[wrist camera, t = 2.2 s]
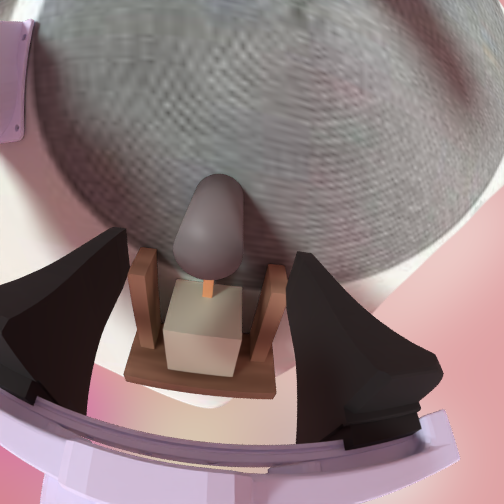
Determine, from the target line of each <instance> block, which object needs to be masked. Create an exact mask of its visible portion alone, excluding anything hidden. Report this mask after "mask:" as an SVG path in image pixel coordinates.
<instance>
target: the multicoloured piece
mask: <svg viewBox="0 0 504 504" xmlns="http://www.w3.org/2000/svg"><path fill="white" fill-rule="evenodd" d="M243 208H244V195H243V190H242V188H241V186H240V184H239V183H238V182H237V181H236V180H235V179H234V178H232V177H230V176H228V175H224V174H213V175H210V176H208V177H206V178H204V179H203V180H202V181H201V182H200V183H199V184H198V186H197V188H196V190H195V193H194V195H193V197H192V199H191V202H190V204H189V206H188V209H187V211H186V214H185V216H184V218H183V221H182V223H181V226H180V228H179V231H178V233H177V236H176V238H175V241H174V244H173V253H174V257H175V259H176V261H177V263H178V265H179V266H180V267H181V268H182V269H183V270H184V271H185V272H187V273H188V274H190V275H191V276H194V277H196V278H199V279H204V281H203V282H197V281H189V280H182V279H177V280H176V283H175V287H174V290H173V294H172V297H171V301H170V305H169V308H168V312H167V316H166V320H165V323H164V327H163V335H164V344H165V352H166V359H167V367H168V369H171V370H177V371H184V372H191V373H199V374H207V375H216V376H227V377H233V373H234V369H235V365H236V361H237V357H238V353H239V349H240V345H241V341H242V287H236V286H228V285H220V284H214V280H218V279H222V278H225V277H227V276H229V275H231V274H232V273H234V272H235V271H236V270H237V269H238V267H239V266H240V264H241V262H242V258H243Z"/></svg>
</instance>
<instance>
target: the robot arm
mask: <svg viewBox="0 0 504 504" xmlns="http://www.w3.org/2000/svg"><path fill="white" fill-rule="evenodd" d="M33 26H34V20H33V19H28V20H26V21H24V22H16V21H0V144H1V143H7V142H14V141H19V140H21V139H22V138H23V136H24V91H25V77H26V68H27V60H28V53H29V46H30V41H31V36H32V31H33ZM25 37H26V39H25ZM18 126H19V129H18ZM129 269H130V264H129V255H128V246H127V234H126V229H125V228H117V227H112V228H110V229H108V230H107V231H105V232H103V233H101V234H100V235H98V236H97V237H95V238H93V239H92V240H90V241H89V242H87V243H85V244H84V245H82V246H81V247H79V248H77V249H76V250H74V251H72V252H71V253H69V254H67V255H66V256H64V257H62V258H61V259H59V260H57V261H55V262H54V263H52V264H50V265H48V266H46V267H44V268H42V269H40V270H38V271H36V272H33V273H31V274H29V275H26V276H24V277H22V278H19V279H17V280H14V281H11V282H8V283H5V284H2V285H0V445H1V446H2V447H4V448H5V449H7V450H8V451H10V452H11V453H12V454H14V455H16V456H17V457H19V458H20V459H22V460H23V461H25V462H26V463H28V464H30V465H31V466H33V467H35V468H36V469H38V470H40V471H42V472H43V473H45V475H44V480H43V486H42V493H41V499H40V504H360V503H363V502H367V501H370V500H373V499H376V498H379V497H382V496H384V495H387V494H390V493H392V492H395V491H397V490H400V489H402V488H405V487H407V486H409V485H412V484H414V483H416V482H418V481H420V480H423V479H425V478H427V477H429V476H431V475H433V474H435V473H437V472H439V471H441V470H443V469H444V468H446V467H448V466H450V465H452V464H454V463H456V462H457V461H459V460H460V456H459V452H458V449H457V445H456V442H455V439H454V436H453V432H452V429H451V426H450V423H449V420H448V417H447V414H446V411H445V410H444V409H442V410H439V411H436V412H433V413H430V414H427V415H424V416H423V417H420V418H418V415H417V412H418V411H420V409H421V407H420V404H419V401H420V400H421V399H422V398H424V397H425V396H426V395H427V394H428V393H429V392H431V391H432V390H433V389H434V388H435V387H436V386H437V385H438V384H439V382H440V381H441V380H442V377H443V374H444V373H443V371H442V368H441V366H440V364H439V361H438V359H437V357H436V355H435V354H433V353H432V352H430V351H428V350H425V349H424V348H422V347H420V346H417V345H416V344H414V343H412V342H410V341H409V340H407V339H405V338H404V337H402V336H400V335H399V334H397V333H396V332H394V331H393V330H391V329H390V328H389V327H387V326H386V325H384V324H383V323H382V322H380V321H379V320H378V319H376V318H375V317H374V316H373V315H371V314H370V313H369V312H368V311H367V310H366V309H364V308H363V307H362V306H361V305H360V304H359V303H358V302H357V301H356V300H355V299H354V298H353V297H352V296H351V295H350V294H349V293H348V292H346V290H345V289H344V288H343V287H342V286H341V285H340V284H339V283H338V282H337V281H336V280H335V279H334V278H333V276H332V275H331V274H330V273H329V272H328V271H327V270H326V269H325V267H324V266H323V265H322V264H321V263H320V262H319V261H318V260H317V259H316V257H315V256H314V255H313V254H312V253H306V252H298V251H297V255H296V258H295V261H294V264H293V267H292V270H291V273H290V276H289V279H288V282H287V285H286V288H285V289H286V308H287V314H288V320H289V325H290V330H291V336H292V341H293V346H294V352H295V359H296V374H297V432H296V433H297V434H296V444H291V445H238V444H221V443H210V442H209V443H208V442H200V441H192V440H185V439H178V438H172V437H165V436H161V435H155V434H150V433H146V432H141V431H137V430H132V429H129V428H125V427H120V426H117V425H114V424H110V423H107V422H104V421H100V420H97V419H94V418H91V417H88V416H86V414H87V413H86V412H87V401H88V393H89V386H90V380H91V375H92V369H93V365H94V361H95V357H96V352H97V349H98V345H99V342H100V338H101V335H102V333H103V330H104V327H105V325H106V323H107V321H108V318H109V316H110V314H111V312H112V310H113V308H114V305H115V303H116V301H117V299H118V297H119V295H120V293H121V291H122V289H123V286H124V284H125V281H126V278H127V275H128V272H129ZM81 436H82V437H81ZM83 437H84V438H83ZM85 438H87V439H85ZM88 439H90V440H93V441H96V442H99V443H102V444H105V445H108V446H112V447H115V448H119V449H122V450H126V451H130V452H134V453H138V454H143V455H147V456H151V457H156V458H161V459H167V460H173V461H179V462H186V463H194V464H203V465H213V466H228V467H270V468H269V469H268V473H266V474H257V473H256V474H255V473H243V472H237V471H231V470H221V469H211V468H202V467H194V466H186V465H179V464H173V463H167V462H161V461H156V460H151V459H146V458H142V457H137V456H134V455H130V454H126V453H122V452H119V451H115V450H112V449H108V448H105V447H102V446H99V445H96V444H93V443H92V442H91V441H90V440H88Z"/></svg>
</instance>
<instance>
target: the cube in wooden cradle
mask: <svg viewBox="0 0 504 504" xmlns="http://www.w3.org/2000/svg"><path fill="white" fill-rule="evenodd" d="M128 282H129V288H130V294H131V300H132V306H133V311H134V316H135V321H136V326H137V332H136V335H135V338H134V341H133V344H132V347H131V351H130V354H129V357H128V361H127V364H126V367H125V371H124V377H125V379H126V381H127V382H132V383H136V384H141V385H146V386H151V387H156V388H161V389H167V390H173V391H180V392H186V393H194V394H202V395H211V396H221V397H234V398H250V399H251V398H252V399H273V398H274V396H275V395H276V383H275V371H274V360H273V349H272V342H273V339H274V337H275V334H276V331H277V329H278V326H279V323H280V321H281V318H282V315H283V313H284V310H285V307H286V289H285V288H286V285H287V282H288V280H287V275H286V270H285V266H283V265H275V264H268V267H267V271H266V275H265V278H264V282H263V286H262V290H261V293H260V297H259V301H258V305H257V308H256V312H255V316H254V320H253V323H252V327H251V330H250V334H246V333H242V341H241V345H240V349H239V353H238V357H237V361H236V365H235V369H234V373H233V377H227V376H216V375H207V374H199V373H191V372H184V371H177V370H171V369H168V367H167V359H166V352H165V344H164V335H163V327H164V323H161V313H160V301H159V288H158V271H157V249H152V248H145V247H141V248H140V250H139V252H138V253H137V255H136V257H135V259H134V261H133V263H132V265H131V267H130V269H129V272H128Z"/></svg>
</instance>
